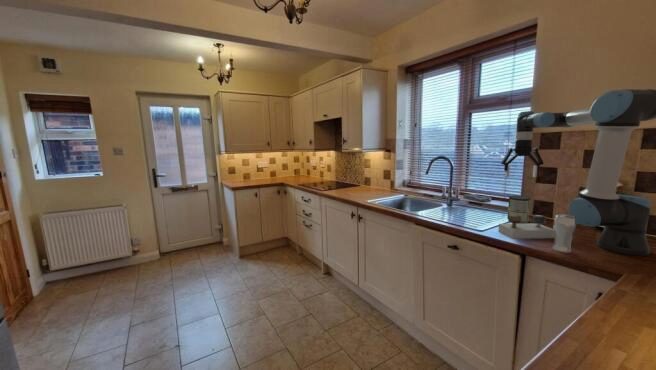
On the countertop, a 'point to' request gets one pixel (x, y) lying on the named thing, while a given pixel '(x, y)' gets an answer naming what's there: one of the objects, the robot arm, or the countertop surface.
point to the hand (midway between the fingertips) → (520, 176)
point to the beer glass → (563, 232)
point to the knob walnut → (514, 220)
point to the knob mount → (526, 231)
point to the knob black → (539, 219)
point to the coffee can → (519, 207)
